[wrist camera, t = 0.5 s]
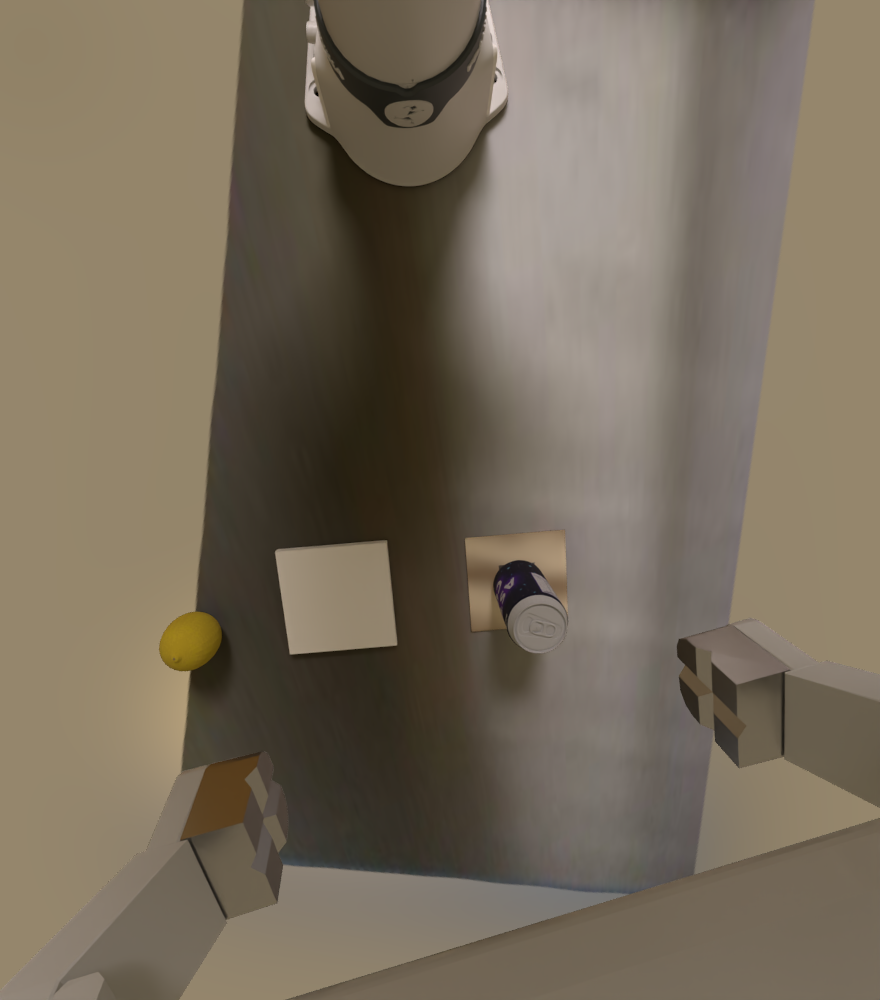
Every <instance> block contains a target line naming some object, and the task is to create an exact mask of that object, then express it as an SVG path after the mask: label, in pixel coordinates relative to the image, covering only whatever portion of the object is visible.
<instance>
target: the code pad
mask: <svg viewBox="0 0 880 1000" xmlns="http://www.w3.org/2000/svg"><path fill="white" fill-rule="evenodd" d="M465 547H466V561H467V575H468V589H469V603H470V617H471V631H472V632H474V631H486V630H498V629H507V628H506V625H505V622H504V619H503V616H502V614H501V611H500V608H499V605H498V602H497V599H496V596H495V593H494V589H493V582H494V578H495V576H496V574H497V572H498V571H499V569H500V568H501V567H502V566H504V565H505V564H507V563H509V562H512V561H516V560H524V561H528V562H531V563H533V564H534V565H536V566H537V567H538V568H539V569H540V570H541V572H542V574H543V575H544V577H545V578H546V580H547V581H548V583H549V584H550V586H551V587H552V589H553V591H554V592H555V594H556V595H557V597H558V598H559V600H560V601H561V603H562V605H563V606H564V608H565V610H566V612H567V616H568V609H567V578H566V547H565V530H555V531H543V532H531V533H519V534H507V535H495V536H483V537H471V538H465Z"/></svg>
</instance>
